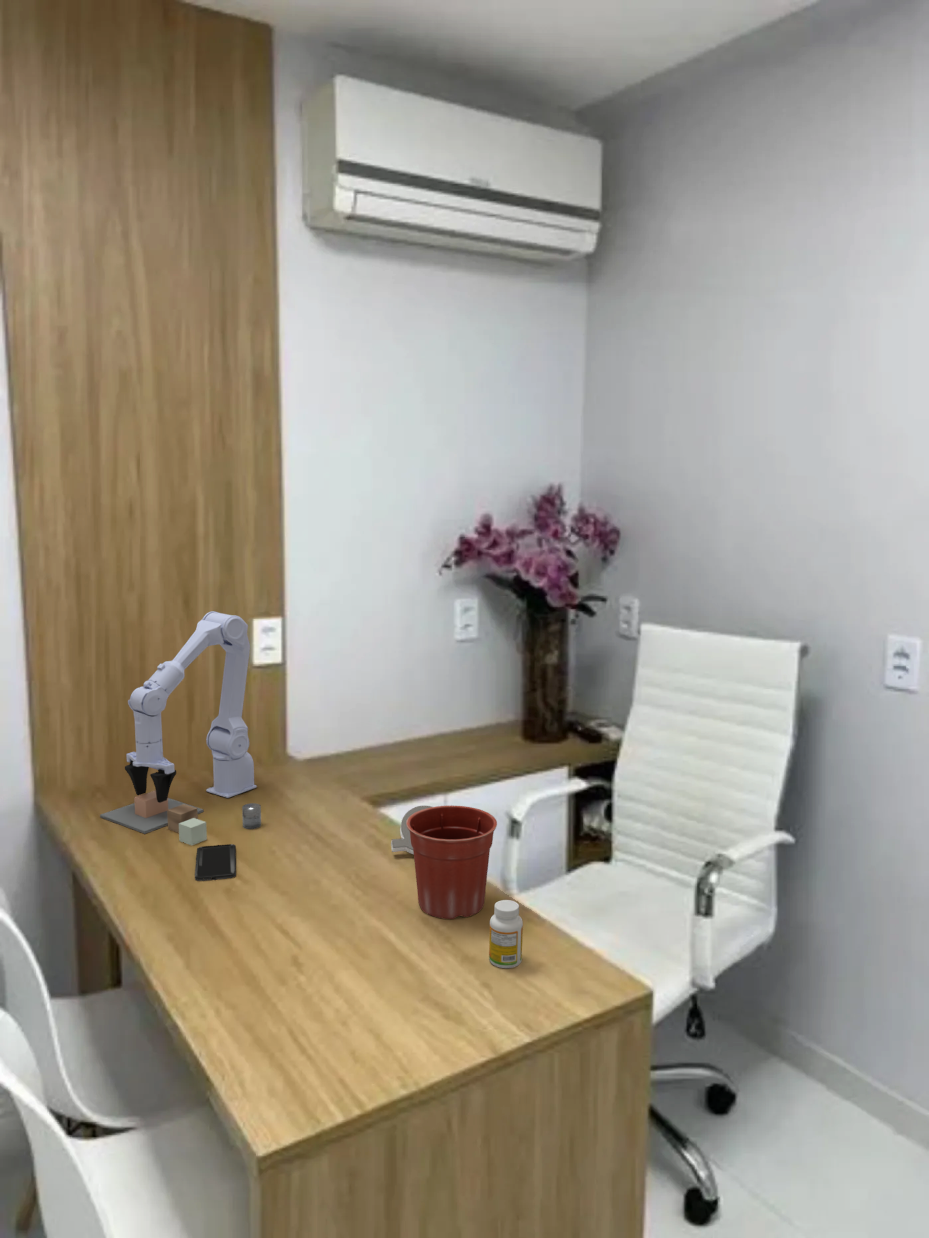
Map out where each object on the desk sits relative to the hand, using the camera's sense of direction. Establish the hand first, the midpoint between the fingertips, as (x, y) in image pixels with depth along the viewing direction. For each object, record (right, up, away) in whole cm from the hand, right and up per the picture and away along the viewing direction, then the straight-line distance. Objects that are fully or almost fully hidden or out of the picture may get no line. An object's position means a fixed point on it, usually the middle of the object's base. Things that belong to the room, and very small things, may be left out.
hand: (151, 797), depth 213 cm
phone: (+21, -9, -24) cm, 34 cm away
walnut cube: (+9, -6, -7) cm, 13 cm away
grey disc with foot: (+63, -8, -16) cm, 66 cm away
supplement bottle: (+78, -16, -59) cm, 99 cm away
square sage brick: (+13, -7, -13) cm, 20 cm away
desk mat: (0, -4, +1) cm, 4 cm away
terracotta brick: (0, -3, +1) cm, 4 cm away
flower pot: (+69, -12, -40) cm, 81 cm away
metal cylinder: (+24, -5, -5) cm, 25 cm away
